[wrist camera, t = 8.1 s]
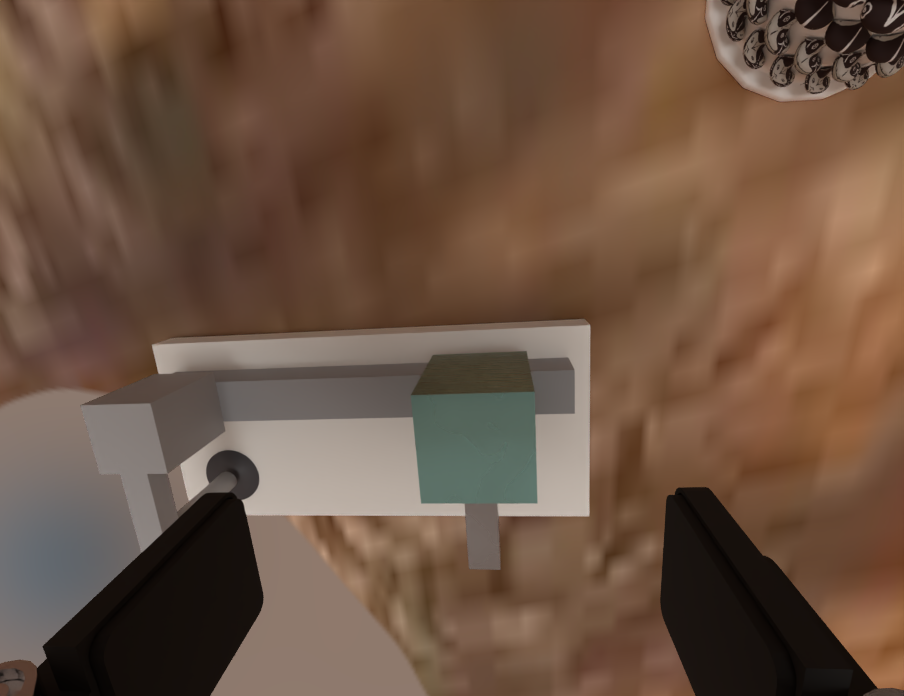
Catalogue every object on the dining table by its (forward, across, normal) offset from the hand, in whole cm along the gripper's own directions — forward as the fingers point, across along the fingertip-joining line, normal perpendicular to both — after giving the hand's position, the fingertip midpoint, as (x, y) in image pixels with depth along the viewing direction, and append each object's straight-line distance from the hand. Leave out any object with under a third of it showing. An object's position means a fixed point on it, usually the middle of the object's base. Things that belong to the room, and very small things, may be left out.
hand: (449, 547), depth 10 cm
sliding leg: (+12, 0, +2) cm, 12 cm away
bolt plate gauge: (+14, +6, +3) cm, 16 cm away
